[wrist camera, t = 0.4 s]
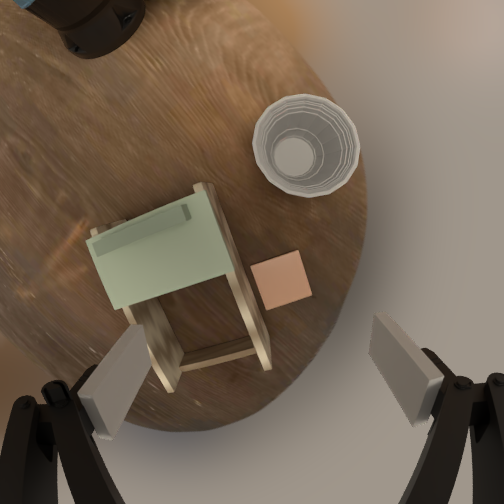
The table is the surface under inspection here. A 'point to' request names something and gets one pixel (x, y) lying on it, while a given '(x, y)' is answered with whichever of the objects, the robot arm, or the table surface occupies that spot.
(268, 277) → the terracotta coaster
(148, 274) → the cover
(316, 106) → the plastic cup
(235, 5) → the table surface
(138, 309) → the wooden box
